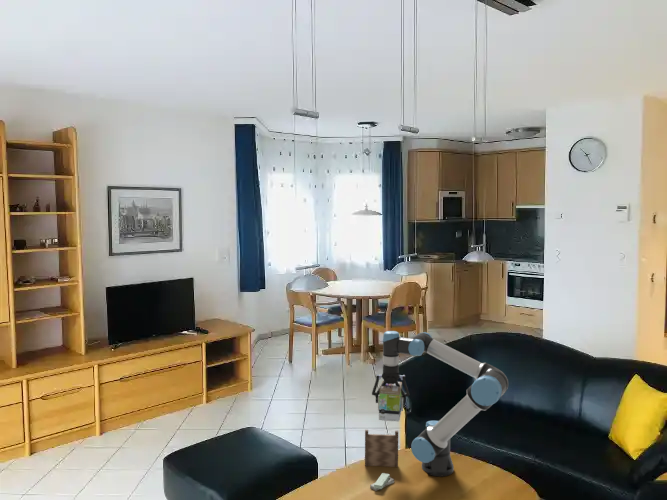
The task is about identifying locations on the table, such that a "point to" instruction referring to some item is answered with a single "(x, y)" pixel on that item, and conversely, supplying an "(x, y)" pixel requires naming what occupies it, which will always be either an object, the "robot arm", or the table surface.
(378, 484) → the sage painted offcut
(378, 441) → the rack
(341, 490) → the table surface
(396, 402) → the tea box
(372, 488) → the grey board offcut
